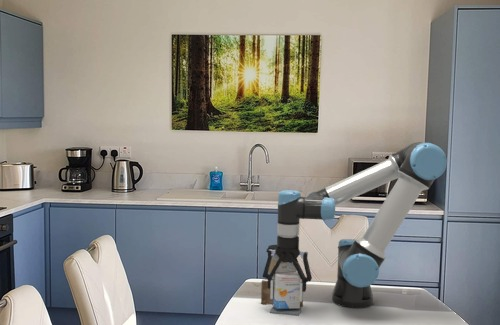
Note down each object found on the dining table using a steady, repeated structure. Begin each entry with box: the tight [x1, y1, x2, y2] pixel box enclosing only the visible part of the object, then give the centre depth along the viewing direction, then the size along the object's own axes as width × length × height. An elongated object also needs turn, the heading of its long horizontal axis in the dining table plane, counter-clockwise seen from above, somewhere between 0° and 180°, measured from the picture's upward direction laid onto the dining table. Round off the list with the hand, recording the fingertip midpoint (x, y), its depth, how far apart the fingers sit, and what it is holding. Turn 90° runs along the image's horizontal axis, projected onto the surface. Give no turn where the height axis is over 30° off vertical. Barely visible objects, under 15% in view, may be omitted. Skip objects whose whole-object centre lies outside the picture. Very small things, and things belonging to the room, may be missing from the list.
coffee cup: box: [265, 244, 288, 279], centre depth 221 cm, size 9×9×15 cm
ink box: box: [272, 263, 302, 309], centre depth 188 cm, size 8×5×15 cm, turn 102°
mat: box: [269, 304, 303, 317], centre depth 188 cm, size 10×8×1 cm
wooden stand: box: [260, 279, 304, 308], centre depth 195 cm, size 15×4×8 cm, turn 77°
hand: (286, 299), depth 188 cm, fingers closed on ink box, 9 cm apart
